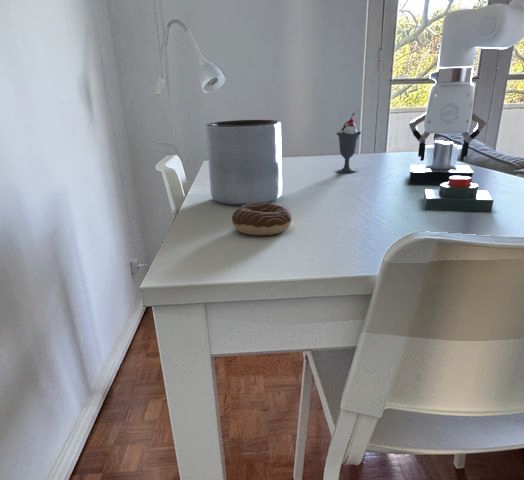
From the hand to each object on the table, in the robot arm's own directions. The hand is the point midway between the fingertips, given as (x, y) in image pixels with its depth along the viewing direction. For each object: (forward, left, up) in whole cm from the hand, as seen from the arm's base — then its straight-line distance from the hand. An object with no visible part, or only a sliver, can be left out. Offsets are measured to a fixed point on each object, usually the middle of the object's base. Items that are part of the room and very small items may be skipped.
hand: (441, 159), depth 114 cm
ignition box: (-2, +26, -5) cm, 27 cm away
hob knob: (0, 0, -2) cm, 2 cm away
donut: (+32, +49, -5) cm, 59 cm away
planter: (+42, +25, -5) cm, 49 cm away
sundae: (+24, -13, -5) cm, 28 cm away
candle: (-1, -14, -5) cm, 15 cm away
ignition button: (-2, +26, -1) cm, 26 cm away
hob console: (0, 0, -5) cm, 5 cm away
